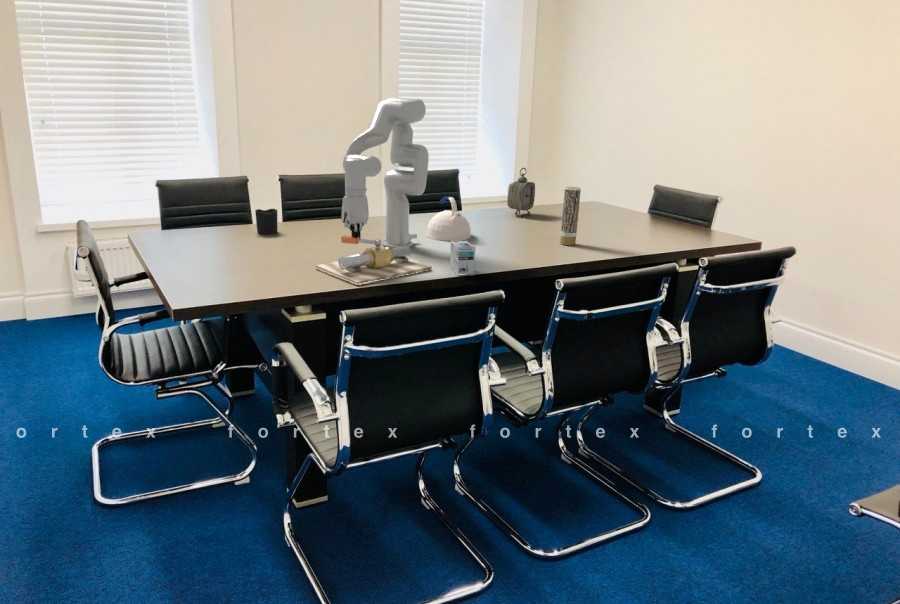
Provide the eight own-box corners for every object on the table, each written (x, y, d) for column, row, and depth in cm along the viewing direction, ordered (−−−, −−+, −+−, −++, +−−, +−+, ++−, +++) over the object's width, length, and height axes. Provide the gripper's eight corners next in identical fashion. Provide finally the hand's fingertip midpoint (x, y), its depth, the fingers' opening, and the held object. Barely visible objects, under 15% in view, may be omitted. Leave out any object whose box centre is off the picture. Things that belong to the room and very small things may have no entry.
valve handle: (344, 241, 257) (344, 235, 256) (382, 245, 253) (382, 239, 253) (341, 242, 255) (341, 236, 254) (379, 246, 251) (379, 240, 250)
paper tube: (564, 241, 310) (569, 186, 302) (577, 244, 306) (583, 188, 298) (557, 244, 304) (562, 187, 296) (571, 246, 301) (576, 189, 293)
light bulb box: (474, 275, 253) (476, 246, 250) (457, 276, 252) (458, 247, 248) (466, 267, 263) (467, 240, 260) (449, 268, 261) (450, 240, 258)
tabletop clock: (520, 218, 356) (524, 169, 348) (505, 216, 360) (508, 168, 353) (533, 214, 367) (536, 167, 359) (518, 212, 372) (521, 165, 364)
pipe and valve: (402, 258, 266) (402, 239, 264) (412, 262, 262) (412, 242, 260) (337, 271, 246) (336, 250, 244) (346, 275, 242) (346, 253, 240)
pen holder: (270, 235, 301) (269, 213, 297) (252, 233, 303) (250, 211, 300) (282, 231, 309) (281, 209, 306) (264, 229, 312) (263, 207, 309)
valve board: (388, 255, 275) (388, 252, 275) (431, 270, 258) (431, 266, 257) (315, 269, 253) (315, 265, 253) (357, 286, 235) (357, 282, 235)
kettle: (437, 243, 300) (438, 201, 294) (419, 232, 317) (420, 193, 312) (478, 240, 308) (480, 199, 302) (459, 230, 325) (461, 192, 320)
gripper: (362, 188, 260) (363, 236, 266) (333, 193, 249) (334, 242, 255) (377, 191, 255) (377, 239, 261) (347, 196, 244) (348, 246, 250)
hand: (356, 241), depth 258 cm, fingers closed
